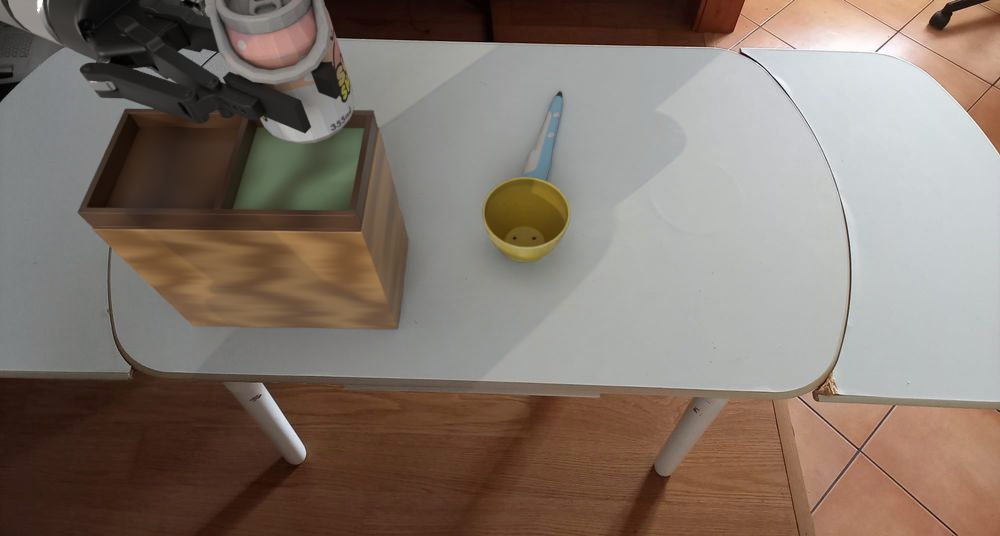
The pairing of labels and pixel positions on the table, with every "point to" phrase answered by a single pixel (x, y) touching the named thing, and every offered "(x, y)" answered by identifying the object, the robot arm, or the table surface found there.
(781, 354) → the table surface
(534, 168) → the pen
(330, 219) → the tray
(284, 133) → the beverage can
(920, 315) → the table surface
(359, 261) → the stand
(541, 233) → the flower pot
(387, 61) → the table surface
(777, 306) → the table surface
